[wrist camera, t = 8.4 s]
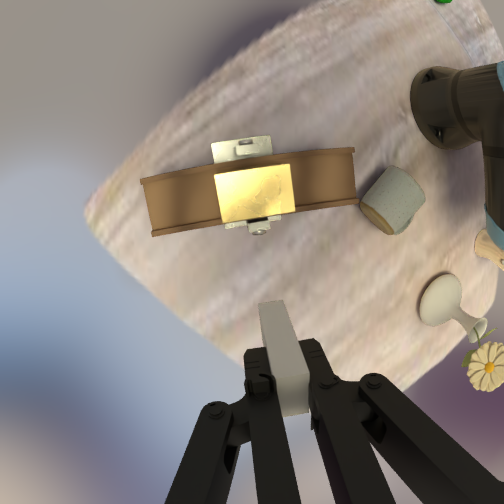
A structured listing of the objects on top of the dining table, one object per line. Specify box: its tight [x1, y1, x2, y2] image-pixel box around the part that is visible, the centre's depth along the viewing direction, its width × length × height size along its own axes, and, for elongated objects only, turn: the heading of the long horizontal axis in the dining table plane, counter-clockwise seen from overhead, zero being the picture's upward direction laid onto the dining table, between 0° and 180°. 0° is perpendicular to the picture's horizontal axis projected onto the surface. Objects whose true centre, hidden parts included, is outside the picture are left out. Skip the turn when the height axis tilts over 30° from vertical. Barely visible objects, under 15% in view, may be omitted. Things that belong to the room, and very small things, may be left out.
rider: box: [214, 163, 295, 223], centre depth 29 cm, size 7×5×5 cm, turn 99°
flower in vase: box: [420, 274, 504, 392], centre depth 39 cm, size 13×11×25 cm
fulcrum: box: [211, 135, 282, 235], centre depth 36 cm, size 24×12×9 cm, turn 98°
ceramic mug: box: [360, 166, 426, 235], centre depth 40 cm, size 11×8×8 cm
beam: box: [140, 147, 359, 237], centre depth 32 cm, size 24×7×2 cm, turn 98°
